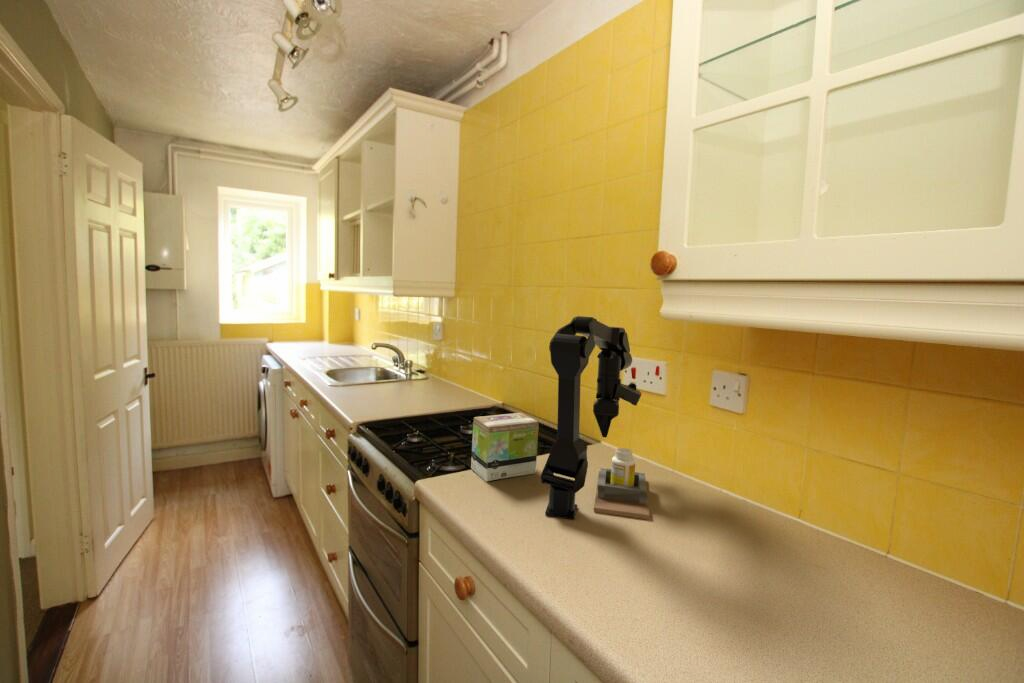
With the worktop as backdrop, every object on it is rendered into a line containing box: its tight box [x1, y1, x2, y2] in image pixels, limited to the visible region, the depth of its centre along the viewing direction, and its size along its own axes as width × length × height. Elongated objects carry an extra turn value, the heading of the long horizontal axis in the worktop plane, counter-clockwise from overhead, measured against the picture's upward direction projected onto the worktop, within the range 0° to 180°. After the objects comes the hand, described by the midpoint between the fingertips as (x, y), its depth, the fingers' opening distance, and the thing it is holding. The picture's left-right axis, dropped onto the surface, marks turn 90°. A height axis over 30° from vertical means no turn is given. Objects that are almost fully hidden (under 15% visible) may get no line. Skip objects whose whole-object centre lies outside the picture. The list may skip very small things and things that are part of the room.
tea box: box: [470, 412, 540, 483], centre depth 125 cm, size 15×10×15 cm
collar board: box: [593, 467, 650, 521], centre depth 114 cm, size 22×12×4 cm, turn 167°
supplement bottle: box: [610, 447, 636, 487], centre depth 114 cm, size 6×6×10 cm
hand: (605, 431), depth 125 cm, fingers open, 9 cm apart
